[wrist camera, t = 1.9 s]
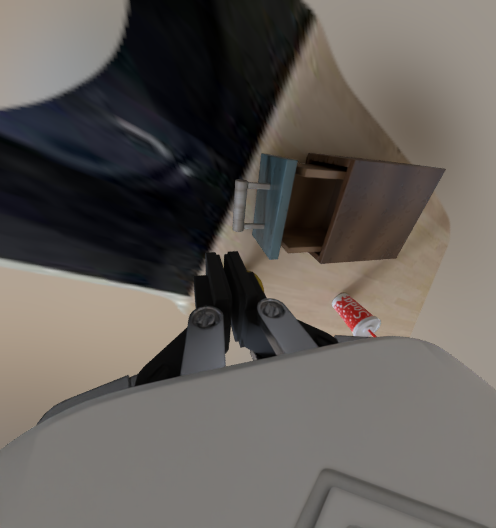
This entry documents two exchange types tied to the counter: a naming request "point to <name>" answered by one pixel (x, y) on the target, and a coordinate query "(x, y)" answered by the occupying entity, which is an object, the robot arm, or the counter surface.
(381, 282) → the counter surface
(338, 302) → the beverage cup
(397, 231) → the cabinet
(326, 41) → the counter surface
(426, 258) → the counter surface
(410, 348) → the robot arm
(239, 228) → the drawer
